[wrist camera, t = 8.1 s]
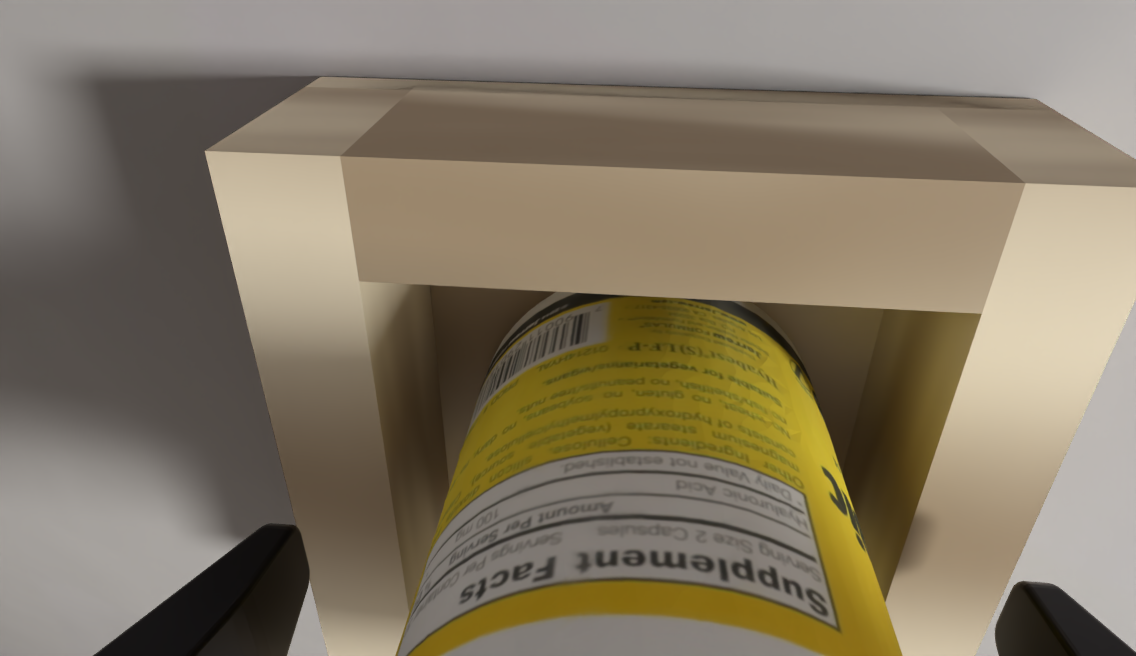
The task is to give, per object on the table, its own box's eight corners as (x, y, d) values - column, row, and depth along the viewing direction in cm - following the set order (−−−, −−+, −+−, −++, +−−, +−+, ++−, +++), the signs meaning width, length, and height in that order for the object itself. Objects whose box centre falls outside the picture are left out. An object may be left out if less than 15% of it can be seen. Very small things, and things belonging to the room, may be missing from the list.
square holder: (876, 594, 16) (927, 761, 13) (395, 556, 16) (340, 705, 13) (1036, 98, 10) (1185, 190, 7) (320, 76, 11) (205, 150, 8)
